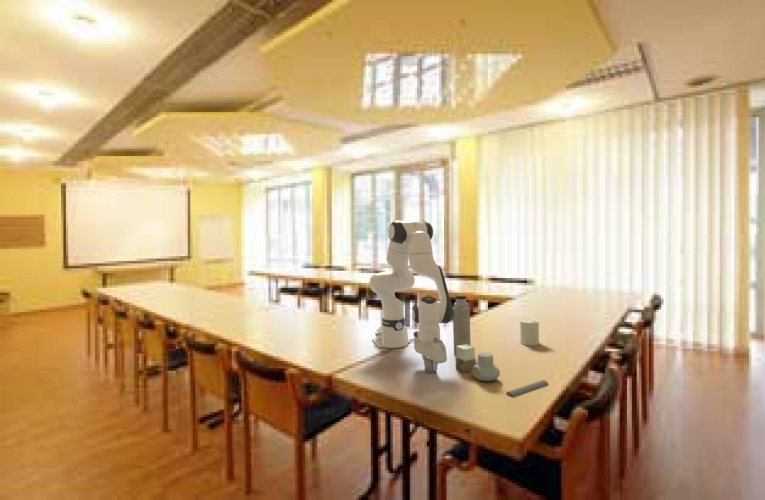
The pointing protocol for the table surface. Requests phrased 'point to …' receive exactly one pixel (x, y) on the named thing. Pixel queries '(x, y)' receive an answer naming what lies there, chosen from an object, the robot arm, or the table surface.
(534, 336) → the can
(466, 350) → the sage block
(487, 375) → the air freshener
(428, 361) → the short grey cylinder
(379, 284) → the robot arm
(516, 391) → the half round rod
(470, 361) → the walnut block
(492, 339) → the table surface
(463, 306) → the thermos bottle
